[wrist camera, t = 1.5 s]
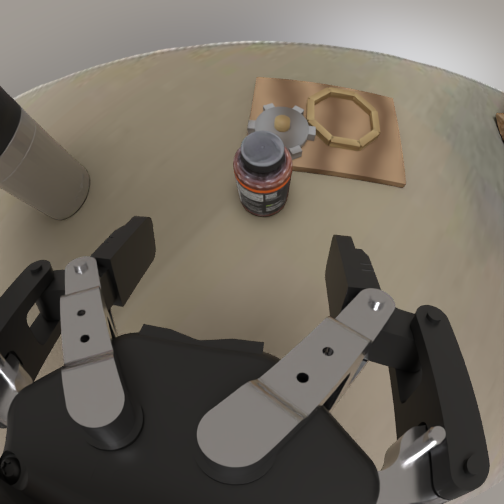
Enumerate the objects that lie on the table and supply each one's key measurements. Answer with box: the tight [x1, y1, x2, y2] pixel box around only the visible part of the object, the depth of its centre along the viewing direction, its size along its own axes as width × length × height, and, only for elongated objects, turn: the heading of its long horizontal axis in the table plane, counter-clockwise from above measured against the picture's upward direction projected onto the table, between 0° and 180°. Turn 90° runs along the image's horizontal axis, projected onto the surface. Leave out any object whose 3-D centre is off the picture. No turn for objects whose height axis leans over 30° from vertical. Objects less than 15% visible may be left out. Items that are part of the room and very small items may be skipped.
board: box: [247, 77, 406, 188], centre depth 36 cm, size 22×16×4 cm
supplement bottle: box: [233, 131, 293, 216], centre depth 31 cm, size 6×6×11 cm
